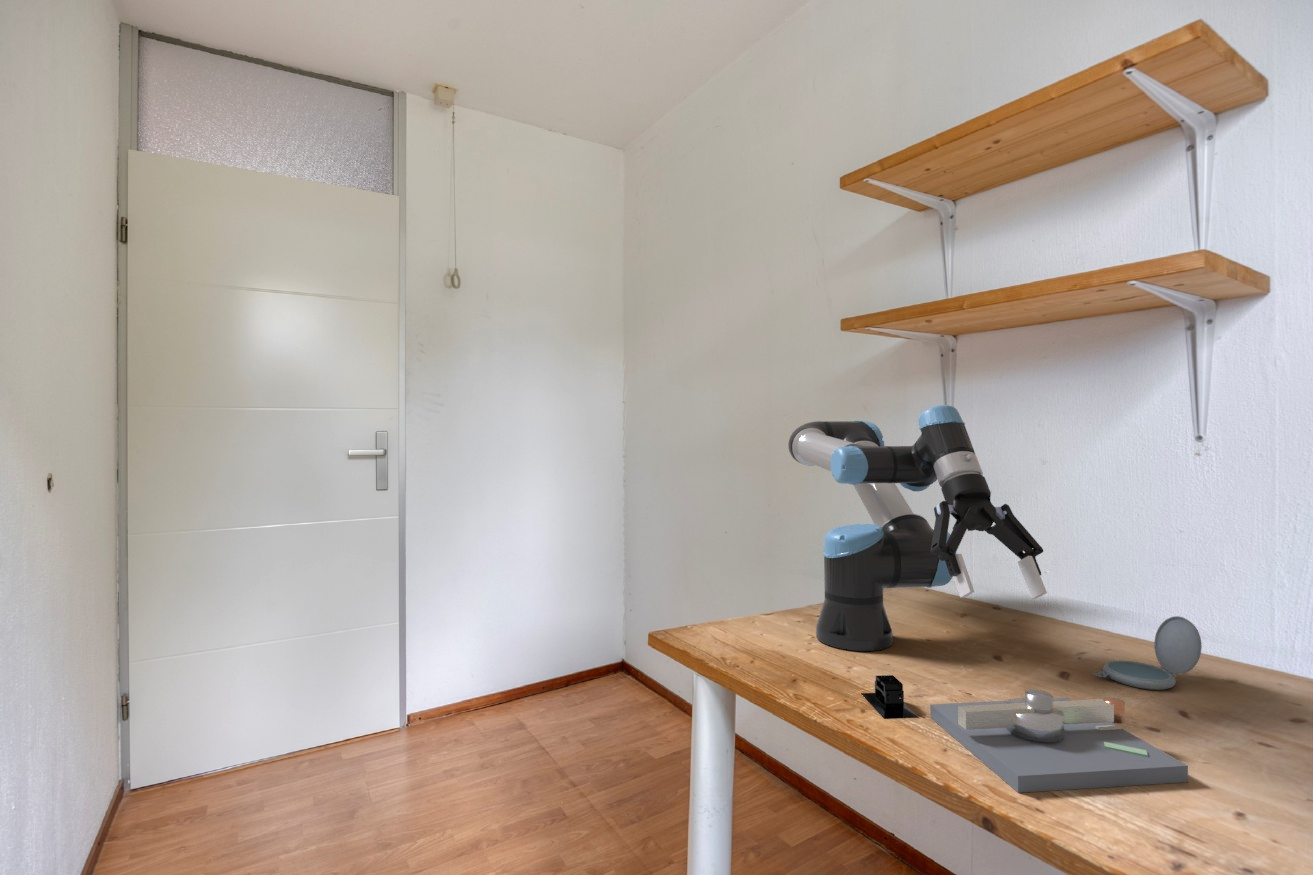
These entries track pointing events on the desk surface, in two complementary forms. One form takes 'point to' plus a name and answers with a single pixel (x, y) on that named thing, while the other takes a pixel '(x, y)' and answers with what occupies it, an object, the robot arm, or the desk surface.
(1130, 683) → the pocket watch
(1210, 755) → the desk surface
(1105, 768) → the stand
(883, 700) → the black stepped block
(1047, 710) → the rotary pointer lever
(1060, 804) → the desk surface
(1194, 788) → the desk surface
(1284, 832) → the desk surface
